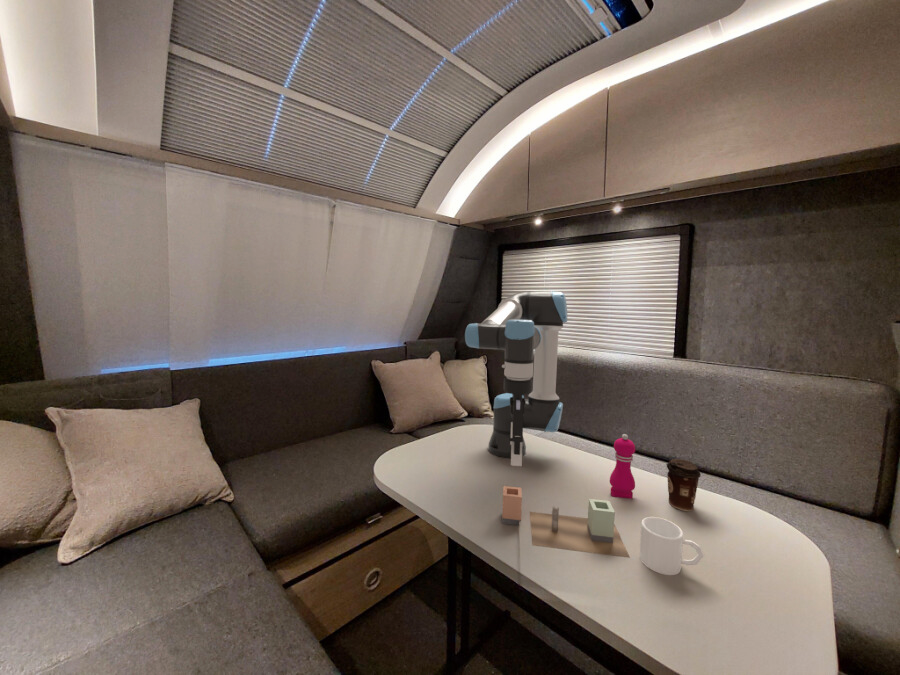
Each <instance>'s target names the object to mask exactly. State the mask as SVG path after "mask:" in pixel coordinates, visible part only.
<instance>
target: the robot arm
mask: <svg viewBox="0 0 900 675" xmlns="http://www.w3.org/2000/svg"><path fill="white" fill-rule="evenodd" d="M567 306H568V304H567V298H566V296H565V293H563V291H562V292H561V291H521V292H518V293H513V294H511V295H509V296H507V297H506V298H504V299H503V300H502V301H500V303H499V304H498V306H497V308H496V309H495V310H494V311H493V312H492V313H491V314H490V315H488V317H486V318H485V319H484V320H483V321H482V322H481V323H479V322H478V323H477V322H474V323H469V324H468V325H467V326H466V328H465V332H464V339H465V344H466V346H467V347H469V348H475V349H478V350H479V349H484V350H502V351H504V364H502V365H501V368H503V369H504V373H503V375H504V378H503V391H504V392H505V393H502V394H498V395H496V397H494V401H493V407H492V408H493V421H492V422H493V423H492V424H493V425H492V426H493V428H492V432H491V433H492V434H491V436H490V439H489V441H488V446H487V448H488V449H487V450H488V451H489V453H491V454H492V455H493V456H494V455H495V456H498V457H501V458H507V459H508V458H509V459H510V466H513V467H523V466H522V465H523V456H525V454H526V452H527V451H526V450H527V445H526V442H525V439H524V435H523V434H524V432H523V431H524V429H526V430H533V431H539V432H544V433H555V432H557V431H558V430H559V428H560V423H561V420H562V414H563V407H564V404H563V402H560V397H559V395H558V394H557V392H556V390H557V389H556V388H557V387H556V385H557V370H558V368H557V367H558V349H559V348H558V347H559V331H560V330H562V328H564V324H565V323H567V322H568V307H567ZM532 378H533V379H532ZM524 395H528V398H525V396H524Z"/></svg>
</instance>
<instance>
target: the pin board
mask: <svg viewBox="0 0 900 675" xmlns="http://www.w3.org/2000/svg"><path fill="white" fill-rule="evenodd" d="M529 518H530V519H529V520H530V529H531V531H530V532H531V541H532V542H531V543H532V546H536V547H543V548H551V549H552V548H553V549H560V550H565V551H566V550H567V551H574V552H575V551H576V552H583V553H590V554H592V553H593V554H598V555H599V554H600V555H606V556H614V557H615V556H616V557H623V558H629V559H630V558H631V557H630V555H629V552H628V550H627V548H626V546H625V544H624V542H623V539H622V538H621V534H620V533H619V530H618V529H617V527H616V525H615V523H614V535H613V543H608V542H599V541H591V538H590V535H589V532H588V529H587V525H588V517H580V516H571V515H561V514H560V508H559V506H556V505H553V506H552V511H551V513H545V512H536V511H529Z"/></svg>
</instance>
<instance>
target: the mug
mask: <svg viewBox="0 0 900 675" xmlns="http://www.w3.org/2000/svg"><path fill="white" fill-rule="evenodd" d="M640 525H641V526H640V537H639V538H640V539H639V552H638V555H639V559H640V561H641V562H642V563H643V565H645V566H646V567H647V569H651V571H654V572H656V573H658V574H661V575H665V576H674V575H675V576H676V575H678V574H679V573H681V568H682V565H685V566H696V565H698V564H699V563H700V562H701V560H702V559H703V558H704V557H705V554H704V552H703V549H702V547H701V546H700V544H697V543H696V542H694V541H693V540H691V539H690V540H689V539H684V531H683V530H682V529H681V528H680V527H679V525H677V524H675V523H674V522H672V521H670V520H669V519H665V518H663V517H658V516H649V517H648V516H647V517H644V518H642V520H641V524H640ZM683 545H687V546H690V547H691V548H693V549H694V550H695V551H696V553H697V555H695V556H694V558H693V559H684V558H682V557H683Z"/></svg>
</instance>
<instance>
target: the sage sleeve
mask: <svg viewBox="0 0 900 675" xmlns="http://www.w3.org/2000/svg"><path fill="white" fill-rule="evenodd" d="M587 506H588V507H587V508H588V510H587V518H588V525H587V529H588V532H589V535H590V538H591V541H599V542H608V543H613V535H614V524H615V516H616V515H615V513H616V512H615V509H614V507H613V506H612V504H611V502H610V500H603V499H602V500H601V499H592V498H588V505H587Z"/></svg>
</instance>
